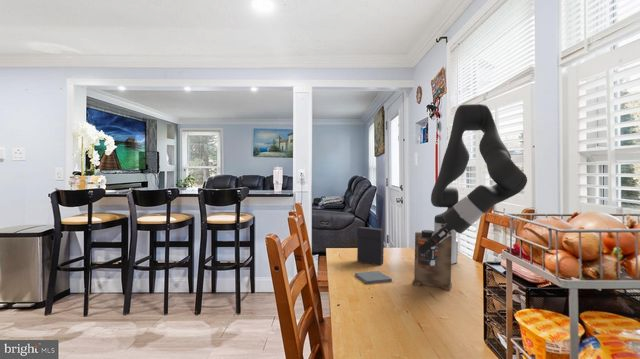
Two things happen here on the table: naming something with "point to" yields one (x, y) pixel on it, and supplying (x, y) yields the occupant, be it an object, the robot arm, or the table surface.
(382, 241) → the dark gray upright block
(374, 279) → the pad
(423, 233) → the supplement bottle
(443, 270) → the screen
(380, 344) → the table surface
